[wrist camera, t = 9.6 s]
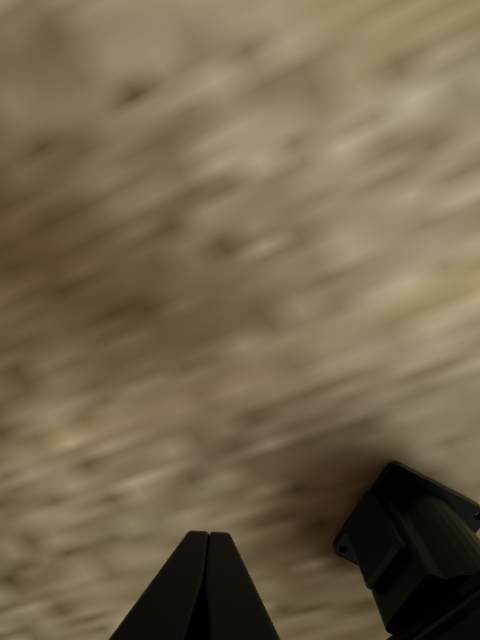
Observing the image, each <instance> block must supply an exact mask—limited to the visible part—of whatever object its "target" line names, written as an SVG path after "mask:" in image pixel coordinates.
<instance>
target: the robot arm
mask: <svg viewBox="0 0 480 640" xmlns="http://www.w3.org/2000/svg"><path fill="white" fill-rule="evenodd" d="M395 470H399V471H398V472H397V473H396V474H392V473H393V472H394V471H395ZM476 513H478V514H477V515H475V514H476ZM479 528H480V505H479V504H477V503H475V502H473V501H471V500H469V499H467V498H465V497H464V496H462V495H460V494H458V493H456V492H454V491H452V490H450V489H448V488H446V487H444V486H442V485H441V484H439V483H437V482H435V481H433V480H431V479H429V478H427V477H425V476H423V475H421V474H420V473H418V472H416V471H414V470H412V469H410V468H408V467H406V466H404V465H402V464H400V463H398V462H392V463H389V464H388V465H387V466H386V468H385V469H384V470H383V472H382V473H381V475H380V476H379V478H378V479H377V480H376V482H375V483H374V485H373V486H372V487H371V489H370V490H369V491H368V492H367V493H366V494H365V495H364V497H363V498H362V500H361V501H360V502H359V504H358V505H357V507H356V508H355V510H354V511H353V512H352V514H351V515H350V517H349V518H348V519H347V521H346V522H345V526H344V527H343V529H342V530H341V531H340V533H339V534H338V536H337V537H336V538H335V540H334V542H333V547H334V551H335V553H336V554H337V555H338V556H340V557H342V558H344V559H346V560H348V561H350V562H353V563H355V564H357V565H359V568H360V571H361V573H362V576H363V579H364V582H365V585H366V587H367V588H368V589H370V590H371V591H372V594H373V596H374V599H375V602H376V605H377V607H378V610H379V613H380V615H381V618H382V621H383V624H384V626H385V629H386V631H387V632H388V633H390V634H392V636H391V637H389V638H388V639H387V640H480V539H479V538H478V537H477V535H476V534H475V533H476V532H477V531H478V529H479ZM343 545H344V547H342V548H340V546H343ZM109 640H280V638H279V636H278V634H277V632H276V630H275V627H274V625H273V623H272V621H271V619H270V617H269V615H268V613H267V611H266V609H265V606H264V604H263V602H262V600H261V598H260V596H259V594H258V592H257V590H256V588H255V585H254V583H253V581H252V579H251V577H250V575H249V573H248V571H247V569H246V567H245V564H244V562H243V560H242V558H241V556H240V554H239V552H238V550H237V548H236V546H235V543H234V541H233V539H232V537H231V535H230V534H229V533H227V532H211V533H210V534H208V532H206V531H189V532H188V533H187V534H186V535H185V537H184V538H183V539H182V541H181V542H180V544H179V545H178V546H177V548H176V549H175V550H174V552H173V553H172V554H171V556H170V557H169V558H168V560H167V561H166V563H165V564H164V565H163V567H162V568H161V569H160V571H159V572H158V573H157V575H156V576H155V577H154V579H153V580H152V582H151V583H150V584H149V586H148V587H147V588H146V590H145V591H144V592H143V594H142V595H141V596H140V598H139V599H138V601H137V602H136V603H135V605H134V606H133V607H132V609H131V610H130V611H129V613H128V614H127V615H126V617H125V618H124V620H123V621H122V622H121V624H120V625H119V626H118V628H117V629H116V630H115V632H114V633H113V634H112V636H111V637H110V639H109Z"/></svg>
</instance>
